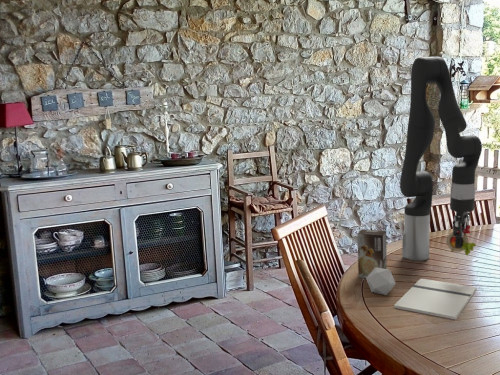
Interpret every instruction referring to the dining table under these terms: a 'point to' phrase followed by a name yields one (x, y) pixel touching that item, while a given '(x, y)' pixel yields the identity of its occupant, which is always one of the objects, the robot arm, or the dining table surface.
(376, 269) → the die
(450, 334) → the dining table surface
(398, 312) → the dining table surface
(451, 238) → the bird rattle
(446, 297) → the mat
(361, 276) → the coffee box
